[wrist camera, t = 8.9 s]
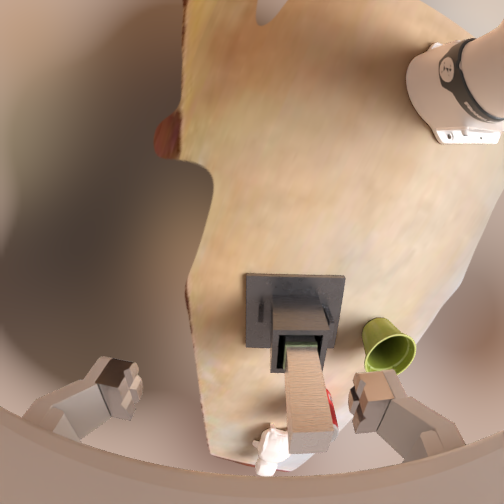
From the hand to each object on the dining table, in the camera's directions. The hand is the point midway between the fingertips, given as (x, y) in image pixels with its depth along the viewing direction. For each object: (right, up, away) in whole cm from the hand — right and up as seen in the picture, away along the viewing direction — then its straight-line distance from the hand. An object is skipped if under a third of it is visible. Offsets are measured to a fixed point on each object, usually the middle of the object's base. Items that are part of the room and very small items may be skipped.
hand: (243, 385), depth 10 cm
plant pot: (+23, -10, +41) cm, 48 cm away
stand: (+7, -5, +40) cm, 41 cm away
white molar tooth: (+5, -40, +52) cm, 66 cm away
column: (+7, -8, +34) cm, 35 cm away
